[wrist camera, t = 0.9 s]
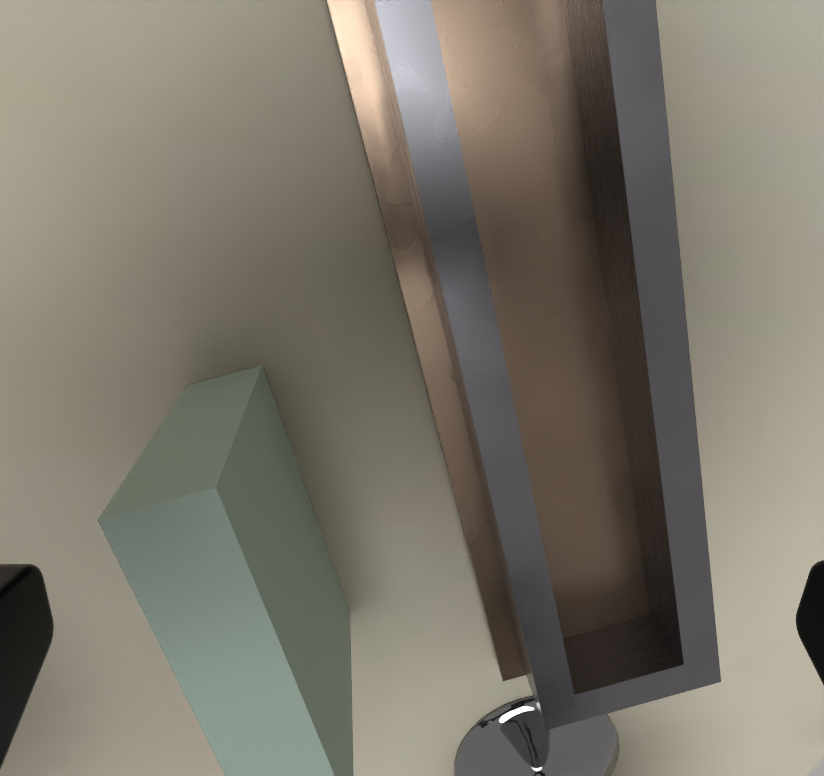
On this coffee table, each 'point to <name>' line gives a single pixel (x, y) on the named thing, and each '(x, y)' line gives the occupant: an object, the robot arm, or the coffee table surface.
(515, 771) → the wine glass
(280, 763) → the pale green rectangular block
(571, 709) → the grey long open box
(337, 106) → the coffee table surface
